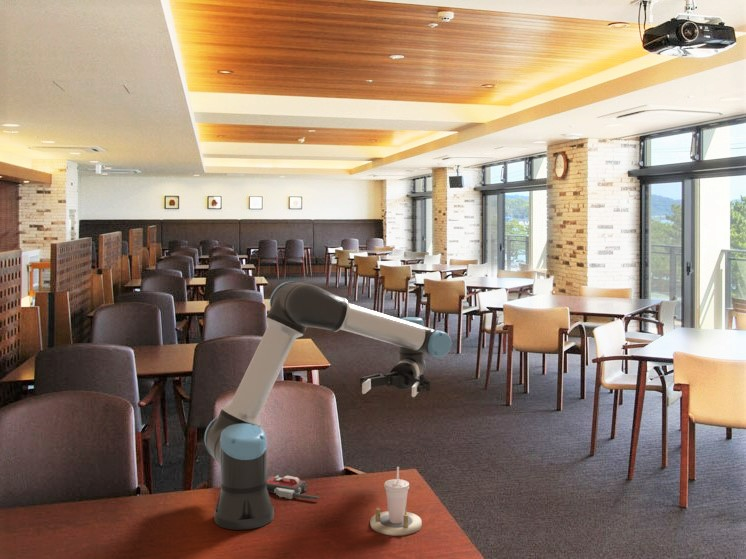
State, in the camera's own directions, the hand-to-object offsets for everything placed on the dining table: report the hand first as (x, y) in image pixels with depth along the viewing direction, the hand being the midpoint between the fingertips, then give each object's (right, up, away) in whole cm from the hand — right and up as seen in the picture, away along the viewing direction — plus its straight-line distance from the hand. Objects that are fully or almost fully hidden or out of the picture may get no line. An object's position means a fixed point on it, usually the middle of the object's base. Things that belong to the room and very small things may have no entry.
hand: (388, 390), depth 190 cm
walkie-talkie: (-27, -32, +13) cm, 44 cm away
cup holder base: (+2, -33, -9) cm, 34 cm away
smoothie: (+2, -32, -9) cm, 33 cm away
